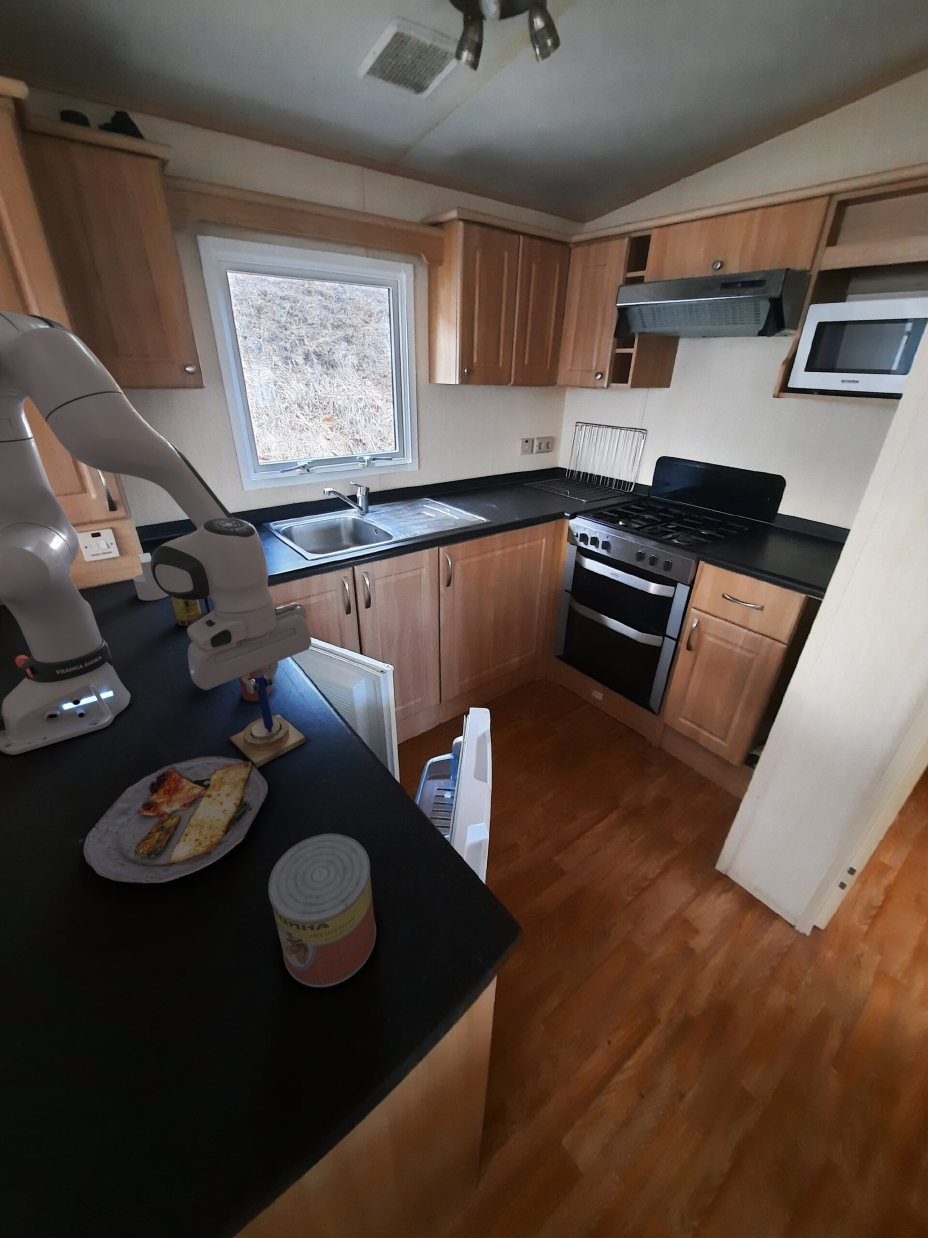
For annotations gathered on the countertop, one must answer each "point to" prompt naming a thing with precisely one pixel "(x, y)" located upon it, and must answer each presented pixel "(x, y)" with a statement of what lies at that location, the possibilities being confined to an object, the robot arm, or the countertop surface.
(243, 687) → the pen pot
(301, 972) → the canned food
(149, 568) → the base with upright slab
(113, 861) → the food plate
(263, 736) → the face circle
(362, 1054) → the countertop surface
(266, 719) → the rod
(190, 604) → the sauce bottle
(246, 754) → the wooden square stand base
